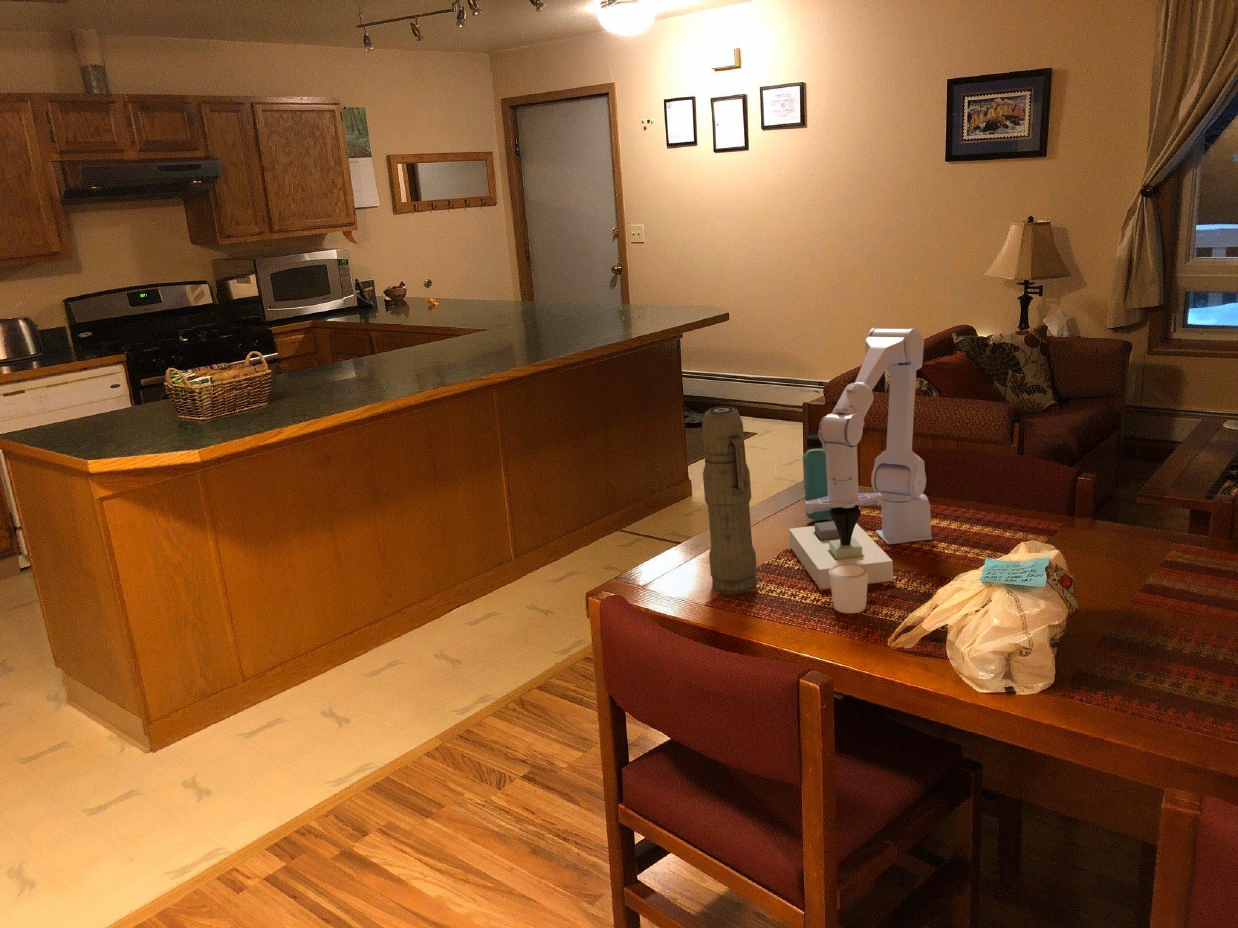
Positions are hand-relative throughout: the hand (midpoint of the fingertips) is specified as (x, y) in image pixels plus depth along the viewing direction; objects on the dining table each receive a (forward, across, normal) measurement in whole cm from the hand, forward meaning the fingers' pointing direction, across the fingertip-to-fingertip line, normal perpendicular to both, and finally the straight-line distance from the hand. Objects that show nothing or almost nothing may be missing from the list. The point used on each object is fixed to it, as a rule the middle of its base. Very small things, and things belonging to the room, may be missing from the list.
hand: (845, 543), depth 188 cm
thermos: (+6, -22, 0) cm, 23 cm away
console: (+6, 0, +6) cm, 8 cm away
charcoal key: (+3, 0, +11) cm, 11 cm away
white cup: (+6, -4, -16) cm, 17 cm away
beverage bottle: (+6, +3, +30) cm, 31 cm away
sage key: (+3, 0, 0) cm, 3 cm away
